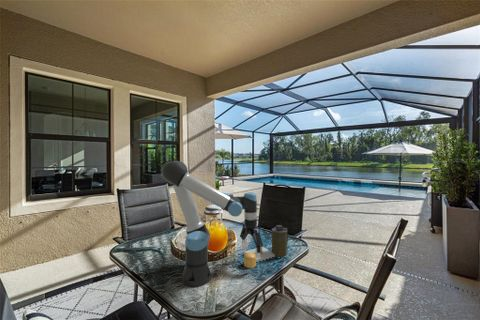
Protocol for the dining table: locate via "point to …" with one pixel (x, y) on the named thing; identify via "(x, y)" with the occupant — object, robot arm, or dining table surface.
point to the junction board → (262, 253)
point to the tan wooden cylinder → (249, 260)
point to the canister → (279, 241)
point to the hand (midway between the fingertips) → (250, 253)
